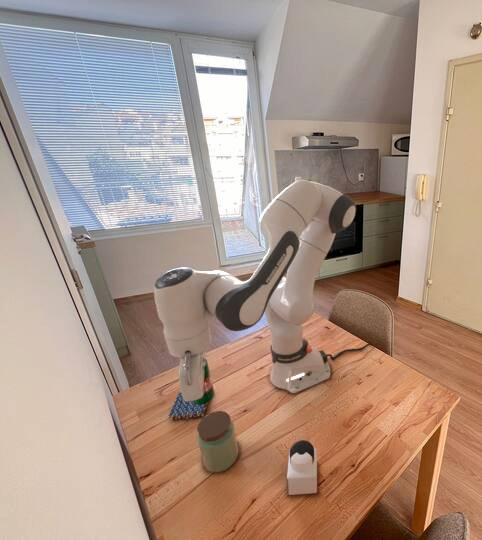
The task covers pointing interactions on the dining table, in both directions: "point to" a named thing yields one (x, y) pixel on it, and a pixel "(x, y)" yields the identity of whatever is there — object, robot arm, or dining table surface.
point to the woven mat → (186, 409)
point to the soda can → (206, 387)
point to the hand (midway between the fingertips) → (200, 384)
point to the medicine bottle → (302, 468)
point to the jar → (217, 441)
